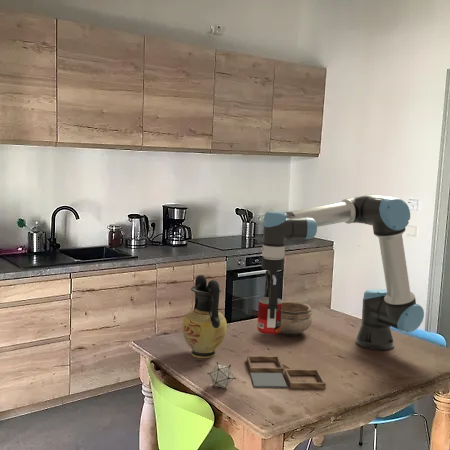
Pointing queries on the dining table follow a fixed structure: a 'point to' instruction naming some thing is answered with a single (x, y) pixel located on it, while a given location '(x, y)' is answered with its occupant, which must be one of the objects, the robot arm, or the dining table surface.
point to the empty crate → (304, 384)
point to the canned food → (264, 313)
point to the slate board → (268, 380)
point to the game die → (221, 376)
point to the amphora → (204, 320)
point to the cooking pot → (295, 318)
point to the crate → (265, 370)
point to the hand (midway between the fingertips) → (269, 323)
